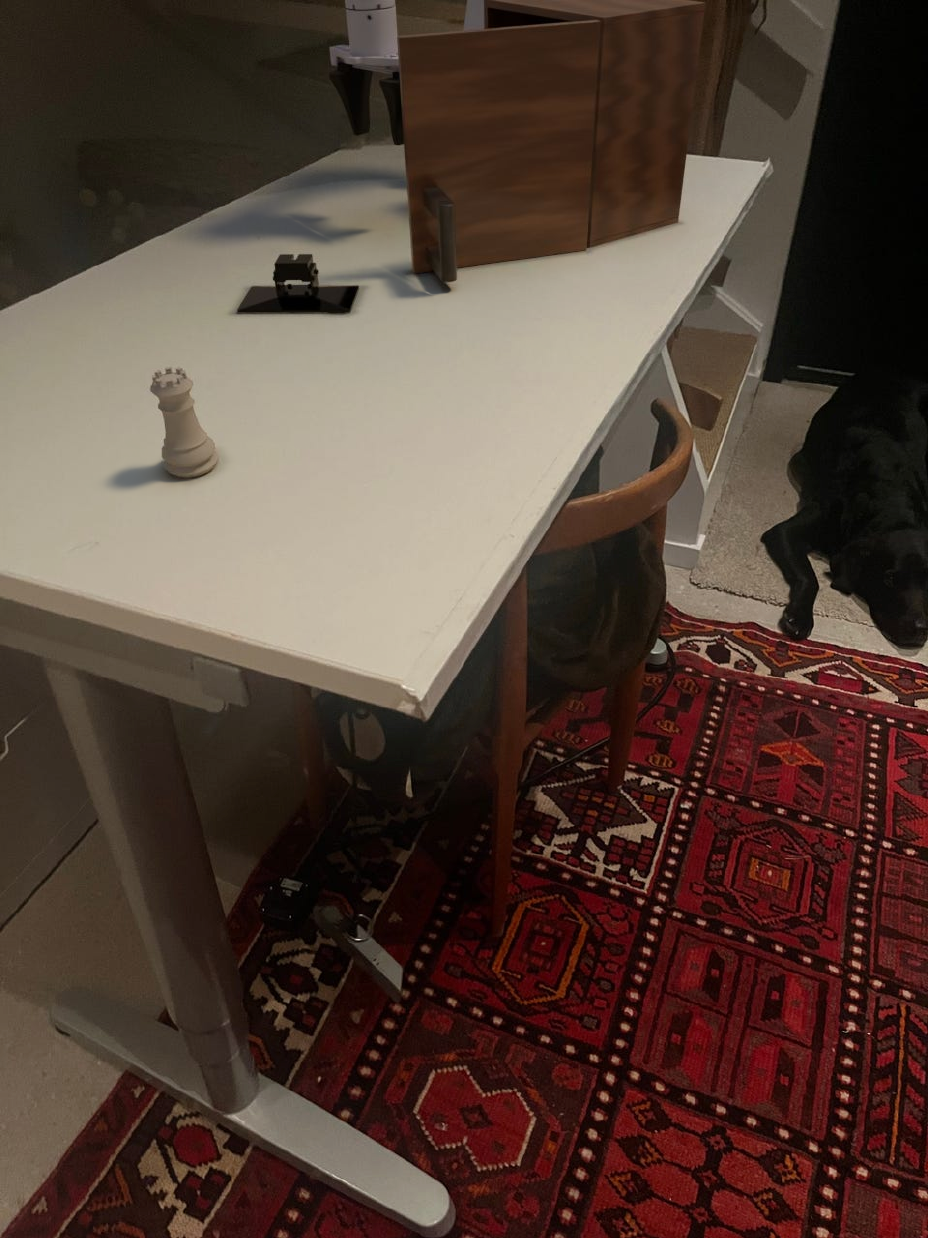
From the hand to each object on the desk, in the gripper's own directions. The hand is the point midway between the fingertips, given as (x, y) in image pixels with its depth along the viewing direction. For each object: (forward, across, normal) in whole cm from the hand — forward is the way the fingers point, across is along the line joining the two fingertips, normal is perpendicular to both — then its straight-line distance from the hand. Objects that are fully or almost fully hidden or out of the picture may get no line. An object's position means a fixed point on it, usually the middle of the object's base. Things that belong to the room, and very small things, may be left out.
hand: (381, 138), depth 111 cm
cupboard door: (+10, +24, -2) cm, 26 cm away
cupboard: (+10, +16, +19) cm, 27 cm away
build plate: (+10, +12, -24) cm, 28 cm away
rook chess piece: (+10, +33, -51) cm, 62 cm away
